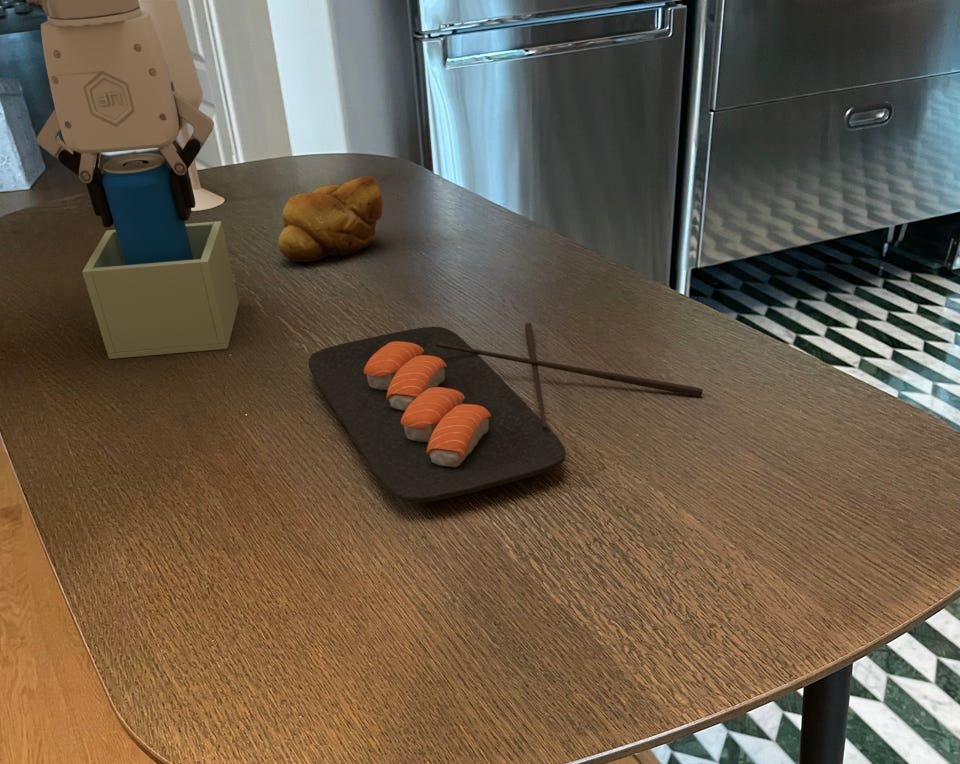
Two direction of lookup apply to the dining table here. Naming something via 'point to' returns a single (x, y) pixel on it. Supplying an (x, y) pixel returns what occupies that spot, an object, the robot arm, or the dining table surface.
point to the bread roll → (331, 220)
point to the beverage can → (145, 210)
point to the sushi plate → (443, 412)
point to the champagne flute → (180, 78)
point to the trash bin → (164, 297)
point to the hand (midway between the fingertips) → (148, 217)
